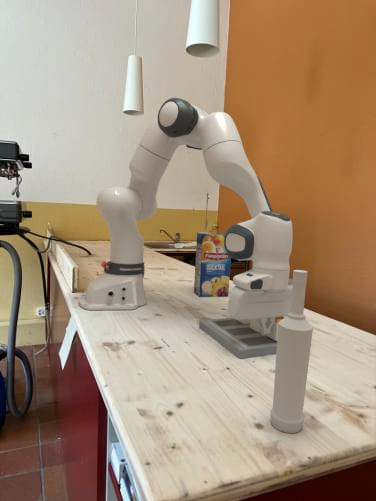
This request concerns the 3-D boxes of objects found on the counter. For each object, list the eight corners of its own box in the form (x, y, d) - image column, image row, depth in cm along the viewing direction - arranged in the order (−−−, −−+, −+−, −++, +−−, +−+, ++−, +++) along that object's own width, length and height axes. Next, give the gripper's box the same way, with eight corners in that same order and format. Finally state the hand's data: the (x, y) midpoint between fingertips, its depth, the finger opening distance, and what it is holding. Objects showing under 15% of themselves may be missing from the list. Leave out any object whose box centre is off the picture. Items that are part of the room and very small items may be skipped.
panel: (239, 358, 82) (242, 329, 81) (199, 327, 102) (200, 303, 101) (302, 350, 89) (304, 322, 88) (252, 322, 109) (254, 299, 108)
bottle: (265, 414, 60) (278, 267, 57) (295, 414, 61) (309, 268, 58) (275, 434, 55) (290, 273, 52) (308, 434, 55) (324, 275, 52)
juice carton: (221, 292, 146) (225, 233, 143) (228, 296, 139) (232, 235, 136) (193, 292, 143) (196, 232, 140) (198, 297, 136) (202, 234, 133)
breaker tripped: (275, 341, 88) (277, 319, 87) (265, 335, 92) (267, 314, 91) (285, 339, 89) (287, 318, 89) (275, 334, 93) (277, 314, 92)
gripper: (295, 275, 94) (290, 326, 96) (227, 277, 86) (222, 332, 88) (312, 280, 88) (306, 334, 90) (240, 283, 80) (235, 342, 82)
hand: (264, 333), depth 89 cm, fingers closed
